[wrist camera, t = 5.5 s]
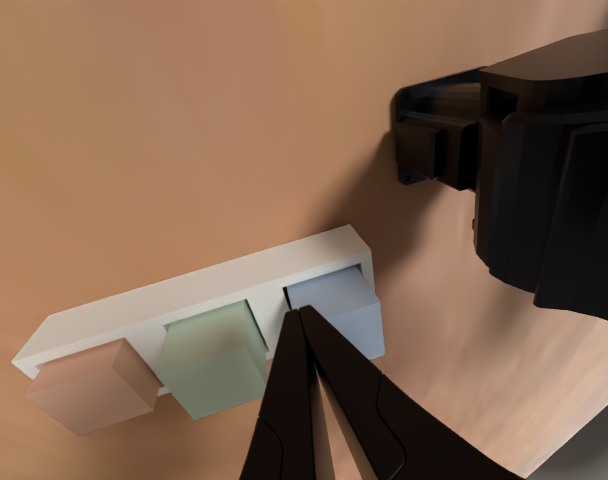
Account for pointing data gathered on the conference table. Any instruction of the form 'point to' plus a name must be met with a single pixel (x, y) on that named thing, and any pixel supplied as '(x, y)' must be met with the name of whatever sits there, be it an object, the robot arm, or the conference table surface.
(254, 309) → the key console
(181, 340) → the sage green key
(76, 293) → the conference table surface
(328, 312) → the slate blue key
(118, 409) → the terracotta key
